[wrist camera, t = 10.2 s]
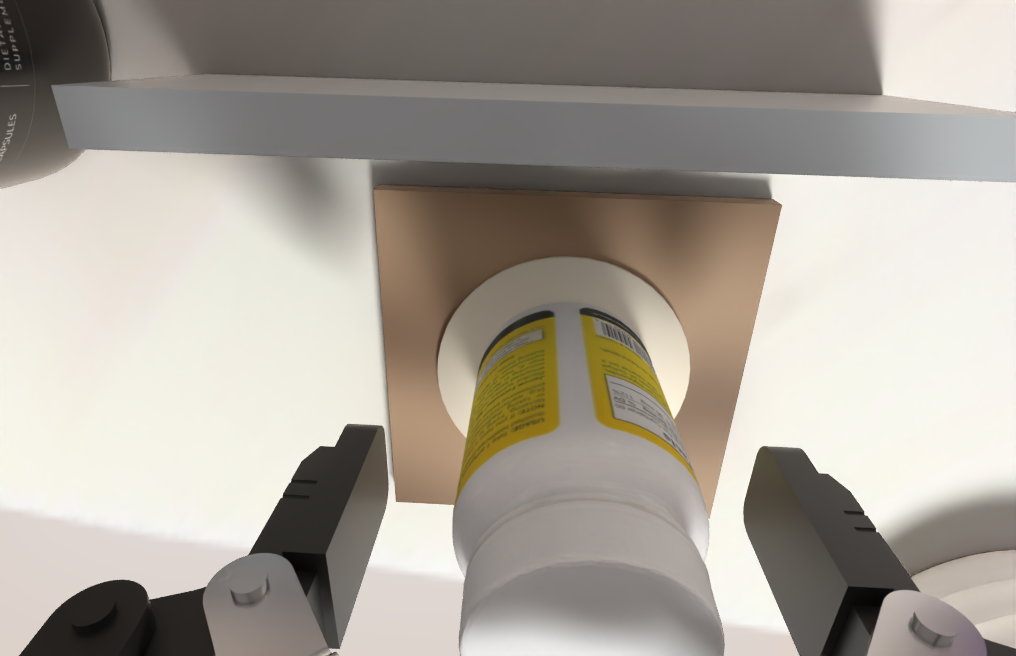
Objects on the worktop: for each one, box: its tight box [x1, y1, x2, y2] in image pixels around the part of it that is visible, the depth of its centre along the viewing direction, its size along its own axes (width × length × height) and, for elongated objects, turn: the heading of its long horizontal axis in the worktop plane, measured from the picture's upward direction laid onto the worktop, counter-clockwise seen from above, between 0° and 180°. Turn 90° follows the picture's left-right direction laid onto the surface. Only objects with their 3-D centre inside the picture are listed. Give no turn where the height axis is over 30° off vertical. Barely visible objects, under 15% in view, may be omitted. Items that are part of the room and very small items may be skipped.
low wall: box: [51, 74, 1016, 182], centre depth 12 cm, size 1×16×5 cm, turn 88°
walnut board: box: [373, 185, 782, 518], centre depth 17 cm, size 10×10×1 cm
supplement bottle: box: [453, 302, 725, 656], centre depth 12 cm, size 5×5×8 cm
